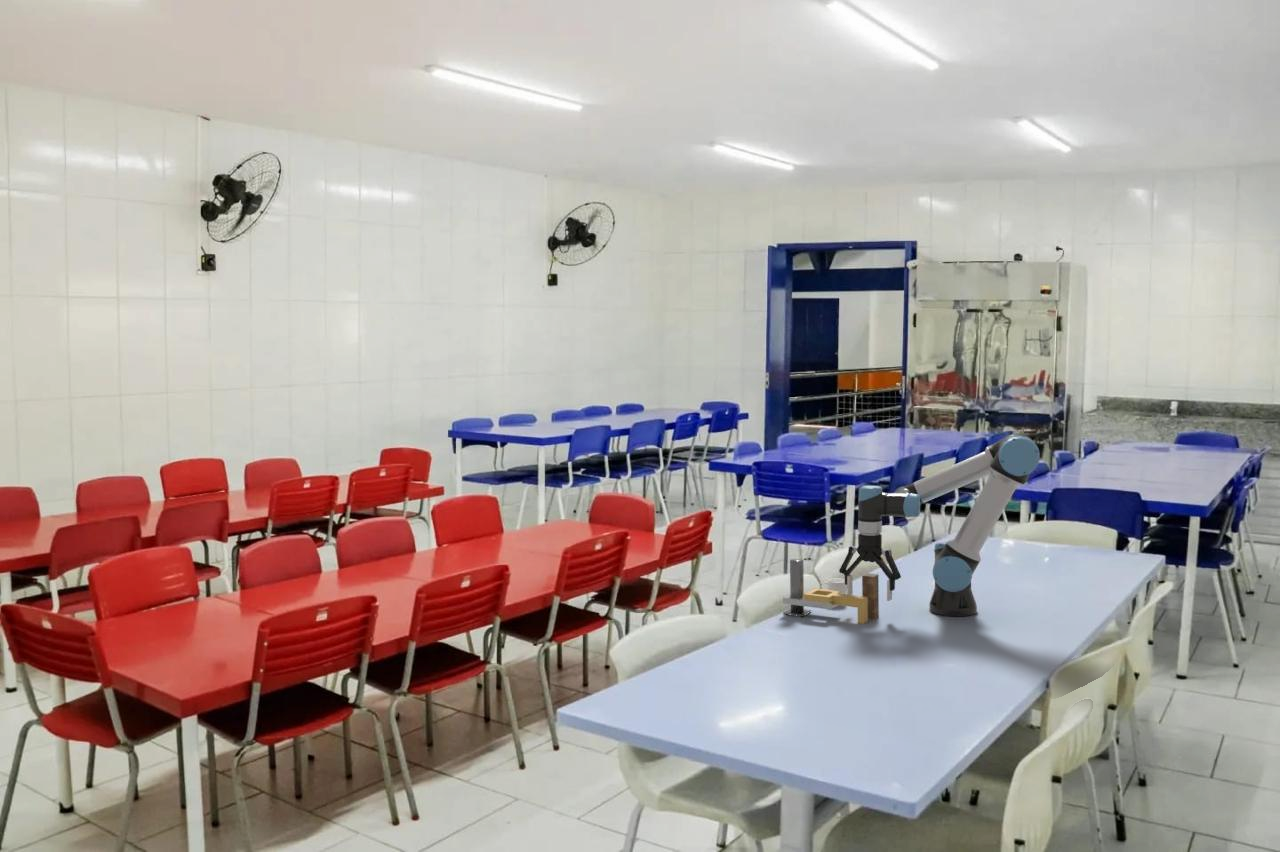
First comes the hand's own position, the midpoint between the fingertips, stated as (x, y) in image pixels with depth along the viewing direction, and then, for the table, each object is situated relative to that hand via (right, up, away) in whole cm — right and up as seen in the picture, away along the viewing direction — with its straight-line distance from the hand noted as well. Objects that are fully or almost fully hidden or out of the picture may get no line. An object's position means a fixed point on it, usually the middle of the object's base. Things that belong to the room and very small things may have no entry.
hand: (869, 597), depth 345 cm
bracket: (-11, -7, -1) cm, 13 cm away
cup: (-8, -5, +20) cm, 22 cm away
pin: (0, -7, 0) cm, 7 cm away
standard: (-18, -7, +4) cm, 20 cm away
